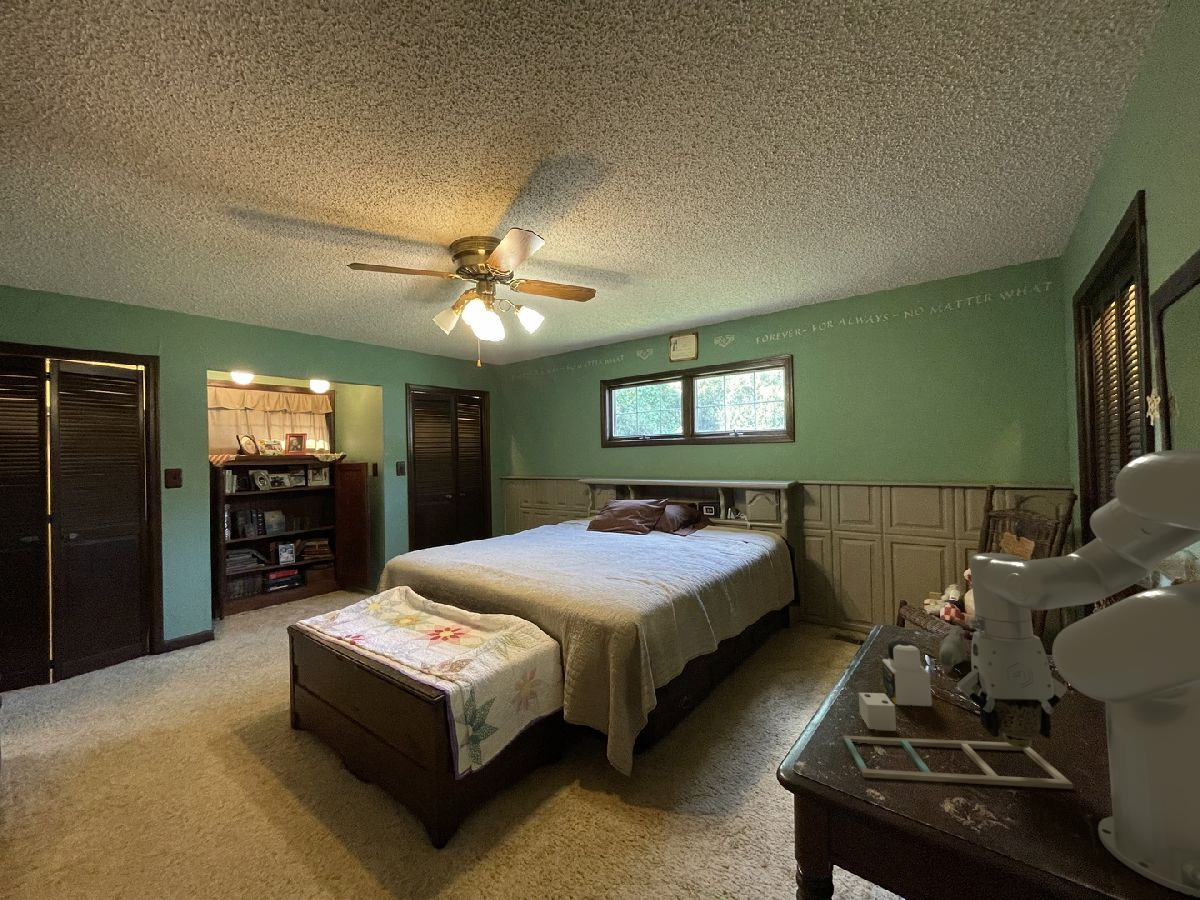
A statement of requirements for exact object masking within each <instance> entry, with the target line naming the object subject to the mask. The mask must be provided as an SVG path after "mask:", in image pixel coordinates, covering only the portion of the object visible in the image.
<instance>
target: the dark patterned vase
mask: <svg viewBox="0 0 1200 900" xmlns="http://www.w3.org/2000/svg"><path fill="white" fill-rule="evenodd" d="M986 696H987V695H986ZM986 698H987V697H986ZM993 711H994V712H995V713H996V714H997V722H998V731H999V732H1001V733H1002V734H1003V735H1002V737H1003V739H1004V741H1005V743H1009V744H1010V745H1012V746H1015V747H1019V748H1028V747H1030V748H1031V747H1032V746H1031V745H1032V743H1033V742H1032V739H1034V738H1036V737H1037V736H1039V735H1040V734H1039V732H1040V728H1041V711H1042V702H1040V703H1038V702H1037V701H1035V700H1000V699H997V701H995V705H994V707H993Z"/></svg>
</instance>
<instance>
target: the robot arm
mask: <svg viewBox="0 0 1200 900" xmlns="http://www.w3.org/2000/svg"><path fill="white" fill-rule="evenodd" d="M1114 492H1115V496H1116V497H1115V498H1112V499H1111V500H1110V501H1108V502H1107V503H1105V504H1104V505H1102V506H1101V507H1099V508H1098V509H1096V510H1095V511H1094V512H1093V513H1092V514H1091V516H1090V518H1089V526H1090V528H1091V531H1092V532H1093V534H1094V536H1095V537H1096V538H1094V539H1092V541H1090V542H1088V543H1087V544H1085V545H1083V546H1081V547H1080V548H1079V549H1077V550H1075V551H1073V552H1072V553H1070V554H1067V555H1064V556H1055V557H1046V558H1040V559H1038V558H1037V559H1029V560H1023V559H1022V558H1020V557H1019V556H1017V555H1015V554H1014V555H1013V554H1010V553H1000V552H999V553H998V552H982V553H977V554H974V555H972V556H971V558H970V559H969V568H970V569H969V570H970V578H971V579H970V580H971V586H972V595H973V607H974V612H975V613H974V614H973V617H974V619H972V620H967V624H968V627H969V628H970V629H975V630H976V631H974V632H973V634H972V640H971V653H970V659H971V662H970V663H971V671H970V672H969V673H968V674H965V675H966V676H963V678H962V679H960V680H959V681H958V682H957V684H956V686H957V688H959V689H960V690H961V691H962V693H964V694H965V695H966V696H967V697H968V698H969V699H970V700H971V701H972V702H974V704H976V705H978V708H979V714H980V715H979V716H980V723H981V726H982V727H983V729H984V730H985V731H986V732H988V733H989V734H990V735H991V736H992V737H995V738H998V737H999V736H1000V733H999V732H1000V730H999V729H998V722H997V714H996V713H995V712H994V711H993V707H994V705H995V701H997V699H1000V700H1035V701H1037V702H1038V703H1040V702H1042V711H1041V728H1040V732H1039V734H1038V735H1041V736H1042V737H1044V738H1045V739H1051V738H1052V737H1051V736H1052V735H1051V730H1052V724H1051V716H1050V714H1053V712H1054V709H1053V708H1054V707H1056V706H1057V704H1059V702H1060V701H1061V699H1060V698H1062V697H1064V695H1065V693H1066V692H1067V691H1068V687H1067V686H1066V685H1064V684H1063V683H1061V682H1060V681H1059V680H1058V679H1055V678H1054V676H1052V674H1051V673H1052V672H1051V668H1050V664H1049V661H1048V656H1047V654H1046V651H1045V648H1044V645H1043V642H1042V641H1041V638H1040V637H1039V636H1037V635H1035V634H1034V631H1033V629H1034V628H1033V621H1032V612H1031V611H1046V610H1054V609H1059V608H1066V607H1074V606H1079V605H1080V606H1081V605H1082V606H1083V605H1090V604H1092V603H1096V602H1100V601H1102V600H1104V599H1107V598H1109V597H1111V596H1113V595H1115V594H1118V593H1120V592H1121V591H1123V590H1125V589H1127V588H1130V587H1132V586H1134V585H1135V584H1137V583H1138V582H1141V580H1144V579H1145V578H1147V576H1149V574H1150V573H1152V572H1153V571H1154V570H1155V569H1156V568H1157V567H1158V565H1159V563H1160V562H1162V561H1164V560H1165V559H1167V558H1169V557H1171V556H1173V555H1175V554H1177V553H1179V552H1181V551H1183V550H1185V549H1187V548H1188V547H1190V546H1192V545H1194V544H1196V543H1198V542H1200V448H1198V447H1197V448H1185V449H1184V448H1183V449H1173V450H1172V449H1171V450H1168V449H1167V450H1160V451H1159V450H1158V451H1153V452H1150V453H1146V454H1144V455H1141V456H1140V455H1139V456H1138V457H1136V458H1134V459H1133V460H1131V461H1130V462H1128V463H1127V464H1126V465H1124V466H1123V468H1121V470H1120V471H1119V472H1118V475H1117V476H1116V479H1115V483H1114ZM1051 649H1052V650H1051V652H1052V654H1051V655H1052V656H1051V657H1052V661H1053V664H1054V666H1055V669H1056V670H1057V672H1058V674H1059V675H1060V676H1061V678H1062V679H1063V680H1064V681H1065V682H1066V683H1067V684H1068V685H1069V686H1071V687H1072V688H1073V689H1075V690H1076V691H1078V692H1079V693H1081V694H1082V695H1085V696H1087V697H1088V698H1091V699H1094V700H1097V701H1099V702H1105V703H1106V704H1105V705H1106V706H1105V721H1106V738H1107V739H1106V741H1107V750H1108V751H1107V754H1108V767H1109V778H1110V781H1109V782H1110V793H1111V806H1112V816H1108V817H1105V818H1102V820H1100V821H1099V823H1098V826H1097V827H1098V828H1097V831H1098V836H1099V840H1100V841H1101V843H1102V844H1103V846H1104V848H1106V850H1107V851H1108V852H1109V853H1110V854H1111V855H1113V857H1115V858H1116V859H1117V860H1119V861H1120V862H1121V863H1123V864H1124V865H1126V866H1127V867H1128V868H1130V869H1131V870H1133V871H1134V872H1136V873H1137V874H1140V875H1141V876H1143V877H1144V878H1147V879H1149V880H1151V881H1152V882H1155V883H1156V884H1158V885H1161V886H1163V887H1166V888H1168V889H1171V890H1173V891H1176V892H1178V891H1180V892H1179V893H1181V892H1182V894H1184V895H1187V896H1190V895H1193V896H1192V897H1194V896H1195V898H1199V899H1200V581H1196V582H1189V583H1188V582H1187V583H1180V584H1179V583H1178V584H1174V585H1167V586H1160V587H1154V588H1151V589H1148V590H1144V591H1141V592H1138V593H1136V594H1133V595H1130V596H1128V597H1126V598H1123V599H1122V600H1119V601H1117V602H1115V603H1113V604H1111V605H1109V606H1107V607H1105V608H1102V609H1100V610H1098V611H1097V612H1094V613H1092V614H1090V615H1088V616H1085V617H1084V618H1082V619H1079V620H1077V621H1075V622H1073V623H1071V624H1069V625H1068V626H1066V627H1064V628H1063V629H1062V630H1060V632H1059V633H1058V634H1057V635H1056V636H1055V638H1054V641H1053V644H1052V648H1051ZM973 687H976V688H978V689H979V691H978V693H976V692H975V691H974V690H973ZM986 695H987V696H986ZM986 697H987V698H986Z"/></svg>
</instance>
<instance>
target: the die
mask: <svg viewBox="0 0 1200 900" xmlns="http://www.w3.org/2000/svg"><path fill="white" fill-rule="evenodd" d="M858 704H859V705H858V706H859V716H860V715H861V717H862V718H861V717H860V718H861V720H862V719H863V720H864V722H865V723H866V725H867V726H866V725H865V726H866V728H867V727H868V728H869V729H875V730H874V731H888V732H889V731H890V732H891V731H892V732H893V731H894V732H895V731H896V732H897V723H896V722H897V720H896V719H897V718H896V706H895V705H896V704H895V703H894V702H893V701H891V698H890V697H889V696H888V695H887V694H886V693H882V692H881V693H880V692H858ZM863 720H862V721H863ZM864 722H863V723H864ZM865 723H864V724H865ZM868 728H867V729H868ZM869 729H868V730H869Z"/></svg>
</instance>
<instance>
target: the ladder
mask: <svg viewBox="0 0 1200 900" xmlns="http://www.w3.org/2000/svg"><path fill="white" fill-rule="evenodd" d="M843 739H844V740H843ZM842 740H843V742H844V741H845V742H844V744H845V743H846V744H845V746H846V745H847V746H846V748H847V747H848V748H847V750H848V749H849V750H848V752H849V753H850V755H851V757H852V756H853V757H852V758H854V759H853V760H854V762H855V765H856V766H857V767H858V769H859V772H860V773H861V775H862V777H863V778H871V779H872V778H873V779H887V780H888V779H889V780H890V779H891V780H908V781H909V780H910V781H921V782H922V781H924V782H939V783H940V782H941V783H942V782H943V783H961V784H962V783H963V784H976V785H977V784H978V785H995V786H1014V787H1028V788H1029V787H1030V788H1031V787H1032V788H1047V789H1048V788H1049V789H1062V790H1063V789H1065V790H1074V784H1073V783H1072V782H1071V781H1070V780H1069V779H1067V778H1066V777H1065V775H1063V774H1062V773H1061V772H1059V771H1058V770H1057V769H1056V768H1055V767H1054V766H1052V765H1051V764H1050V763H1049V762H1048V761H1046V760H1045V758H1043V757H1042V756H1041V755H1040V754H1038V753H1037V752H1036V751H1035V750H1034V749H1033V748H1031V746H1030V747H1028V748H1019V747H1015V746H1012V745H1010V744H1009V743H1007V742H1001V741H1000V742H998V741H980V740H975V741H974V740H954V739H953V740H952V739H950V740H949V739H934V738H933V739H932V738H931V739H929V738H906V737H889V736H888V737H885V736H884V737H883V736H865V735H864V736H863V735H861V736H859V735H842ZM852 742H858V743H857V744H861V743H867V745H885V746H902V747H903V749H904V750H905V752H906V753H907V754H908V755H909V757H910V758H911V760H912V761H913V762H914V763H915V766H916V767H917V768H918V769H919V770H920V771H910V770H908V771H907V770H892V769H873V768H868V767H867V766H866V764H865V762H864V760H863V759H862V757H861V755H860V753H859V751H858V750H857V748H856V746H855V745H854V743H852ZM912 746H913V747H912ZM914 747H930V748H931V747H933V748H951V749H952V748H953V749H961V750H963V752H965V754H966V755H967V756H968V757H969V758H970V759H971V761H973V762H974V763H975V765H976V766H978V768H979V769H980V770H981V771H982V772H983V773H984V774H985V775H984V774H982V775H981V774H965V773H951V772H950V773H947V772H932V771H931V770H930V768H929V767H928V766H927V764H926V763H925V762H924V761H923V760H922V758H921V756H919V754H918V753H917V752H916V751H915V749H914ZM973 749H974V750H976V749H977V750H996V751H997V750H998V751H999V750H1000V751H1019V752H1022V751H1023V752H1024V753H1025V754H1026V756H1028V757H1029V758H1030V759H1032V760H1033V761H1034V762H1036V764H1037V765H1038V766H1040V768H1042V769H1043V770H1044V771H1045V772H1047V774H1049V775H1050V776H1051V777H1052V778H1039V777H1021V776H1001V775H998V774H997V773H996V772H995V771H994V770H993V769H992V767H990V766H989V765H988V764H987V763H986V762H985V761H984V760H983V759H982V758H981V757H980V755H978V753H976V751H974V750H973Z"/></svg>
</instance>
